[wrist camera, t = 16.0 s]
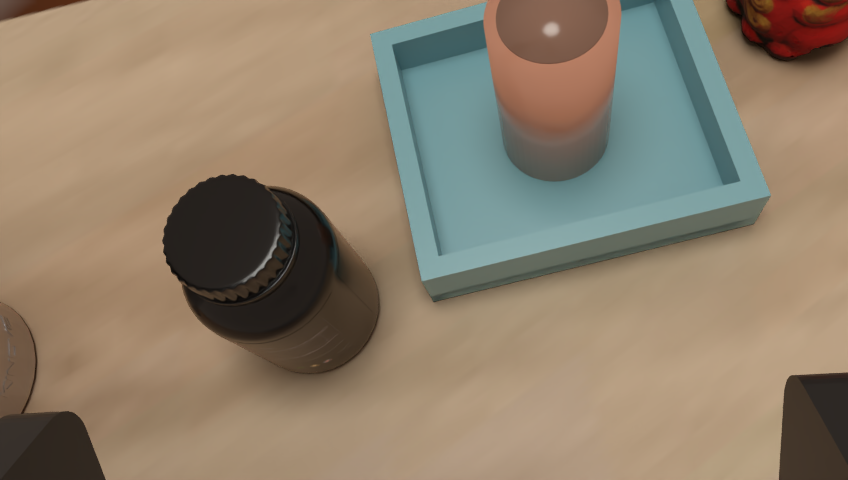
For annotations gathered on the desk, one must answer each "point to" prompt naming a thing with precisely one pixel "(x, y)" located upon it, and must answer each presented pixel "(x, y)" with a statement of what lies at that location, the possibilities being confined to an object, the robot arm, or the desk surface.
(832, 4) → the red clay folk toy
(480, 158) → the teal tray
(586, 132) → the terracotta cup
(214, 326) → the supplement bottle
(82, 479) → the robot arm
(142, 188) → the desk surface
